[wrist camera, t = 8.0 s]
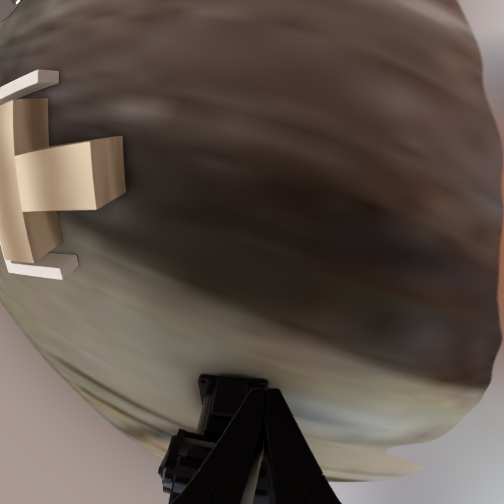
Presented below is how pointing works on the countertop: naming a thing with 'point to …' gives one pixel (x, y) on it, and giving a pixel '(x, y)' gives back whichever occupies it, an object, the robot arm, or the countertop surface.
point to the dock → (44, 267)
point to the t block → (48, 179)
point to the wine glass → (7, 8)
